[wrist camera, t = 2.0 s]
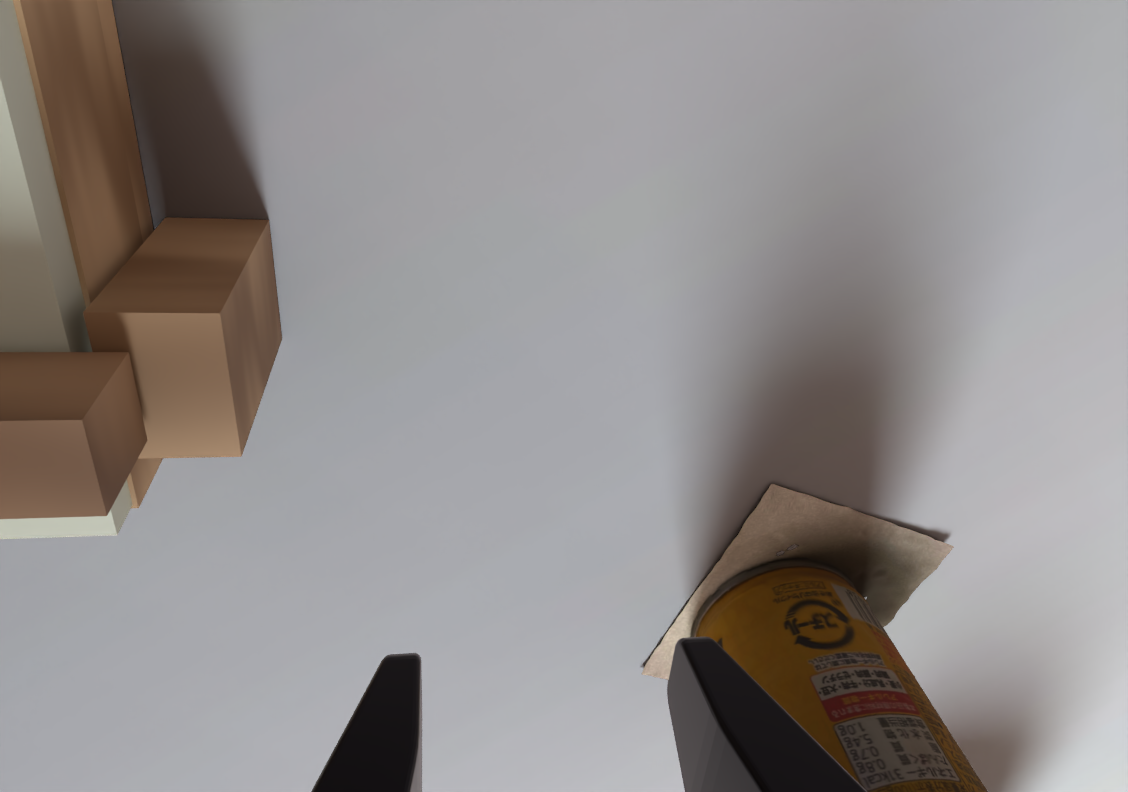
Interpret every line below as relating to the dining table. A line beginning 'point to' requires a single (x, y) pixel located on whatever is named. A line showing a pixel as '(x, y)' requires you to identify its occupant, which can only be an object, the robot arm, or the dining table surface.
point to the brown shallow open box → (150, 252)
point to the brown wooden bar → (66, 432)
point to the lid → (37, 259)
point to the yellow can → (829, 636)
